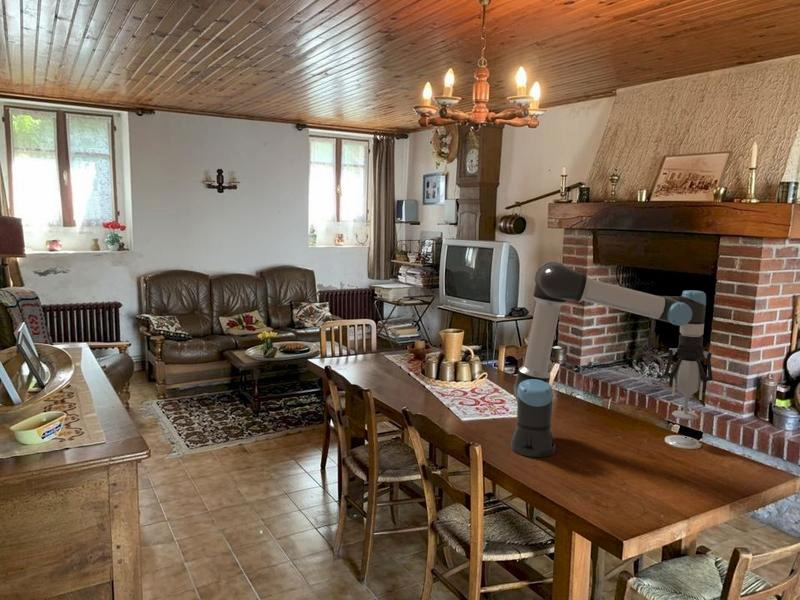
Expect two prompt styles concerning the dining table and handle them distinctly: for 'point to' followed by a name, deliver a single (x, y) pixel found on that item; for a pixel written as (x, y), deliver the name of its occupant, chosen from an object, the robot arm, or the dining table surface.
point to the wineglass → (687, 386)
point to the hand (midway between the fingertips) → (686, 397)
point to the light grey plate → (682, 442)
